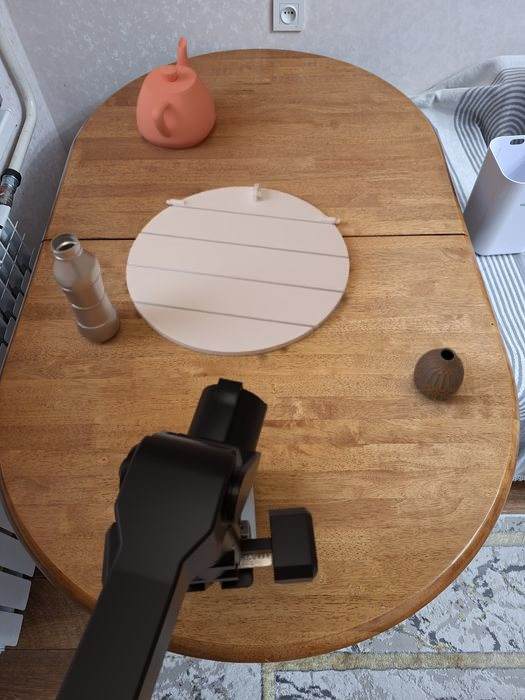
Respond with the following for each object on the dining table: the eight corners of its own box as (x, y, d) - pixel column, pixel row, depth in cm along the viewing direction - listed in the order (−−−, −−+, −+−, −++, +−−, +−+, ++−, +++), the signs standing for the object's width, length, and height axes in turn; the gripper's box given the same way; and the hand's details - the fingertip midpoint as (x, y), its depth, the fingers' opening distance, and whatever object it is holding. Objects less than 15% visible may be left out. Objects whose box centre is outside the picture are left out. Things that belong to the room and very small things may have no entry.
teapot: (157, 91, 129) (146, 32, 118) (227, 96, 127) (222, 36, 116) (126, 158, 115) (110, 98, 104) (204, 165, 114) (196, 104, 102)
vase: (455, 370, 85) (472, 337, 77) (456, 409, 81) (474, 379, 73) (410, 364, 85) (422, 331, 78) (408, 403, 82) (421, 371, 74)
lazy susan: (164, 178, 111) (161, 164, 109) (358, 199, 107) (360, 185, 104) (95, 337, 89) (89, 324, 87) (335, 372, 85) (337, 360, 82)
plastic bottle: (73, 335, 90) (28, 247, 73) (102, 308, 93) (65, 218, 76) (102, 353, 88) (62, 267, 71) (131, 325, 91) (99, 236, 74)
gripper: (307, 426, 48) (300, 489, 61) (93, 442, 48) (132, 502, 61) (324, 558, 42) (313, 596, 55) (79, 578, 41) (125, 612, 54)
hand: (218, 572), depth 56 cm, fingers closed
